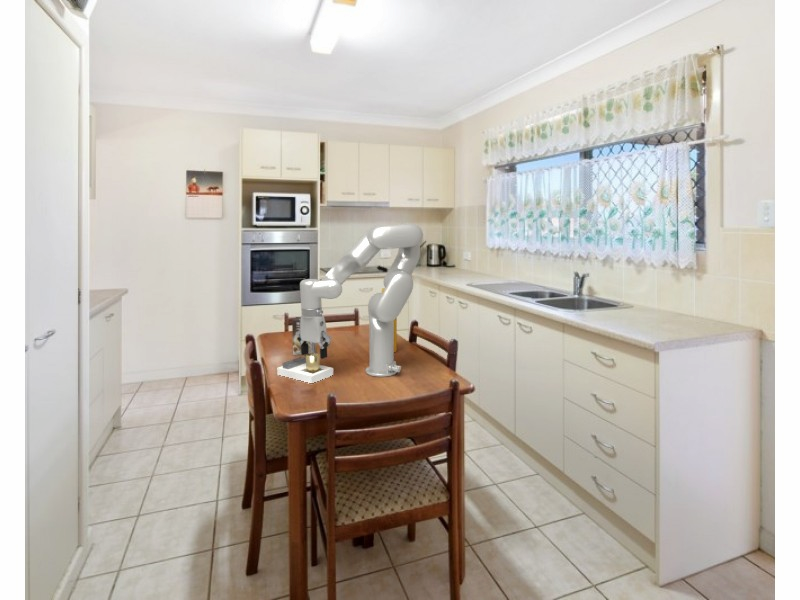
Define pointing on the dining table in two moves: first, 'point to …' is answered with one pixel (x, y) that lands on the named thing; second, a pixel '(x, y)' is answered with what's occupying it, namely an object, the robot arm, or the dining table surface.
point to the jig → (303, 371)
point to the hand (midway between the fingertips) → (314, 356)
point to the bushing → (312, 363)
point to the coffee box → (295, 341)
